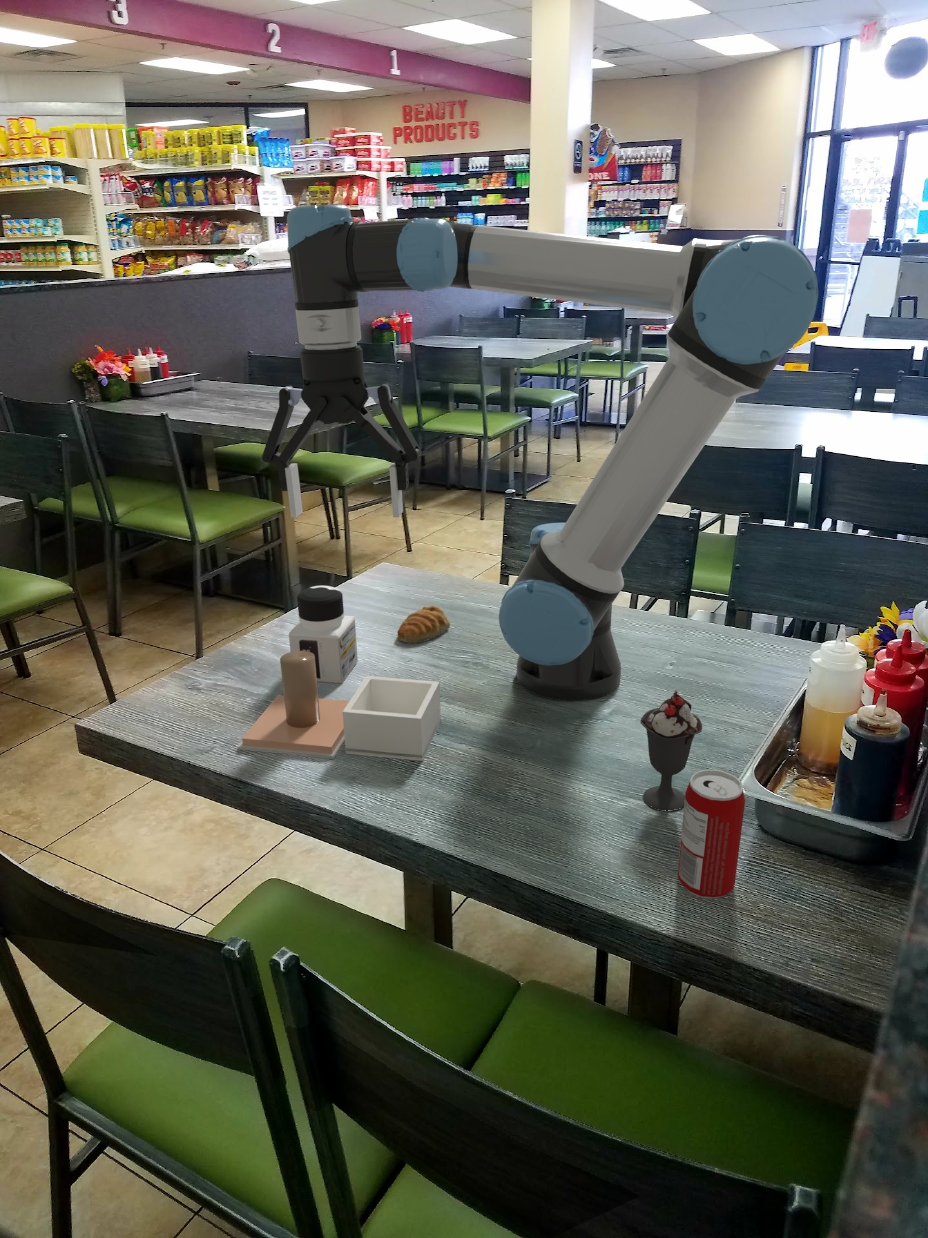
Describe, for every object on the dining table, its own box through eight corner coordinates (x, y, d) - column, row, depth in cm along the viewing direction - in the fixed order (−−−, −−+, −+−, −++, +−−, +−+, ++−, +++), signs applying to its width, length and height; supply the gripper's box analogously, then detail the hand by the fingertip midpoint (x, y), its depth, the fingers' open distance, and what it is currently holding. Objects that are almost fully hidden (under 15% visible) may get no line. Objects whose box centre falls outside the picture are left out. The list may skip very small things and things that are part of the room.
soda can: (742, 879, 91) (756, 777, 86) (720, 909, 87) (733, 804, 82) (691, 858, 94) (701, 759, 89) (667, 886, 90) (677, 784, 85)
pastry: (421, 650, 143) (420, 627, 141) (386, 641, 146) (385, 620, 145) (453, 629, 150) (452, 608, 149) (419, 621, 153) (418, 600, 152)
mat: (365, 709, 125) (365, 706, 124) (334, 759, 113) (334, 756, 113) (277, 701, 127) (276, 699, 127) (237, 749, 115) (237, 746, 115)
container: (342, 684, 132) (335, 602, 127) (292, 680, 133) (284, 598, 128) (358, 661, 139) (353, 582, 133) (310, 658, 140) (303, 579, 135)
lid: (361, 708, 124) (356, 642, 120) (332, 753, 113) (325, 682, 109) (279, 701, 126) (271, 636, 122) (242, 745, 115) (233, 675, 112)
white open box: (440, 721, 121) (439, 681, 119) (422, 761, 112) (420, 718, 110) (369, 715, 123) (366, 675, 121) (345, 753, 114) (342, 711, 112)
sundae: (657, 822, 100) (667, 702, 94) (624, 791, 105) (631, 676, 99) (706, 807, 102) (719, 690, 96) (671, 778, 108) (681, 665, 102)
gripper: (221, 351, 108) (245, 522, 116) (426, 345, 104) (436, 522, 112) (244, 344, 115) (265, 506, 123) (437, 338, 111) (446, 506, 119)
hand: (347, 514), depth 118 cm, fingers open, 13 cm apart
